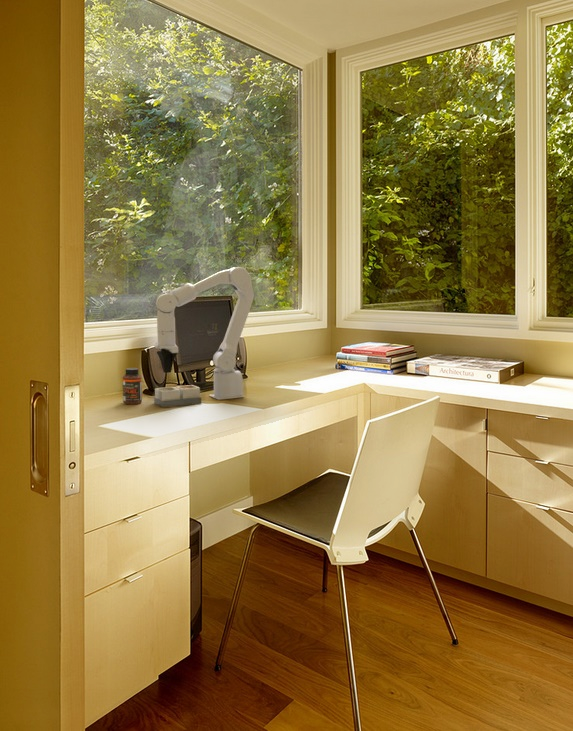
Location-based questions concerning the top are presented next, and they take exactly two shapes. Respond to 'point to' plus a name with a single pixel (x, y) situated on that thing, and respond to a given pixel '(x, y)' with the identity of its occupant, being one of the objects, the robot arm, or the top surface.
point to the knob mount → (177, 396)
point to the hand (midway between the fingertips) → (167, 372)
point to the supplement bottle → (132, 387)
